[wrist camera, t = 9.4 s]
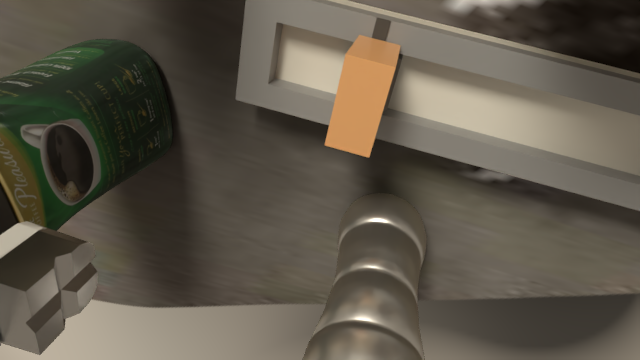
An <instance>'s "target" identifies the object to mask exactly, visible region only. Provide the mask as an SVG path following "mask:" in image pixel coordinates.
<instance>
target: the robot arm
mask: <svg viewBox="0 0 640 360" xmlns="http://www.w3.org/2000/svg"><path fill="white" fill-rule="evenodd" d="M95 257H96V254H95V248H94V245H93V244H91V243H89V242H86V241H84V240H81V239H78V238H75V237H72V236H69V235H66V234H64V233H61V232H58V231H55V230H52V229H49V228H46V227H43V226H40V225H37V224H34V223H31V222H28V221H26V222H21V223H17V224H16V225H14V226H13V227H11V228H10V229H8V230H7V231H5V232H4V233H2V234H1V235H0V346H1V343H3V344H6V345H10V346H13V347H16V348H19V349H23V350H26V351H29V352H32V353H35V354H39V355H40V354H42V352H43V351H44V350H45V349H46V348H47V347H48V346H49V345H50V344H51V343H52V342H53V341H54V340H55V339H56V338H57V336H59V334H60V333H61V332H62V331H63V330H64V328H65V319H66V318H69V317H71V316H74V315H76V314H79V313H80V312H81V311H82V310H83V309H84V308H85V307H86V306H87V304H88V303H89V302H90V300H91V298H92V296H93V295H94V293H95V291H96V287H97V282H98V274H97V271H96V269H95V268H94V266H93V265H92V264H91V261H92V260H93V259H94V258H95Z"/></svg>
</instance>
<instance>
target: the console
mask: <svg viewBox="0 0 640 360" xmlns="http://www.w3.org/2000/svg"><path fill="white" fill-rule="evenodd" d="M359 35H362V36H366V37H370V38H374V39H378V40H382V41H386V42H390V43H394V44H397V45H401V47H400V51H399V54H403V57H402V62H401V65H400V68H399V72H398V75H397V78H396V82H395V85H394V88H393V92H392V95H391V98H390V102H389V105H388V108H387V111H383V113H382V116H381V119H380V123H379V126H378V130H377V133H376V136H375V138H376V139H380V140H384V141H387V142H391V143H394V144H398V145H402V146H405V147H409V148H413V149H416V150H420V151H424V152H427V153H431V154H434V155H438V156H442V157H445V158H449V159H453V160H456V161H460V162H463V163H467V164H471V165H474V166H478V167H482V168H485V169H489V170H493V171H496V172H500V173H503V174H507V175H511V176H514V177H518V178H522V179H525V180H529V181H532V182H536V183H540V184H543V185H547V186H551V187H554V188H558V189H562V190H565V191H569V192H572V193H576V194H580V195H583V196H587V197H591V198H594V199H598V200H601V201H605V202H609V203H612V204H616V205H620V206H623V207H627V208H631V209H634V210H638V211H640V73H636V72H632V71H628V70H624V69H620V68H616V67H612V66H608V65H604V64H600V63H596V62H592V61H588V60H584V59H580V58H576V57H572V56H568V55H564V54H560V53H556V52H552V51H548V50H544V49H540V48H536V47H532V46H528V45H524V44H520V43H516V42H512V41H508V40H504V39H500V38H496V37H492V36H488V35H484V34H480V33H476V32H472V31H468V30H464V29H460V28H456V27H452V26H448V25H444V24H440V23H436V22H432V21H428V20H424V19H420V18H416V17H412V16H408V15H404V14H400V13H396V12H392V11H388V10H384V9H380V8H376V7H372V6H368V5H364V4H360V3H356V2H352V1H348V0H246V2H245V12H244V21H243V31H242V41H241V51H240V60H239V70H238V80H237V89H236V99H235V100H238V101H242V102H246V103H249V104H253V105H256V106H260V107H264V108H267V109H271V110H275V111H278V112H282V113H286V114H289V115H293V116H296V117H300V118H304V119H307V120H311V121H315V122H318V123H322V124H325V125H329V124H330V119H331V115H332V111H333V106H334V102H335V98H336V93H337V89H338V85H339V80H340V76H341V72H342V67H343V63H344V59H345V54H346V53H347V51H348V50H349V49H350V47H351V46H352V44H353V43H354V42H355V40H356V39H357V37H358V36H359Z"/></svg>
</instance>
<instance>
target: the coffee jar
mask: <svg viewBox="0 0 640 360" xmlns="http://www.w3.org/2000/svg"><path fill="white" fill-rule="evenodd" d="M172 138H173V131H172V122H171V114H170V109H169V105H168V101H167V97H166V93H165V89H164V86H163V83H162V80H161V77H160V74H159V72H158V69H157V67H156V65H155V63H154V61H153V60H152V58H151V57H150V56H149V55H148V54H147V53H146V52H145V51H143V50H142V49H141V48H140V47H138V46H137V45H135V44H132V43H130V42H127V41H122V40H113V39H96V40H89V41H85V42H81V43H78V44H75V45H72V46H70V47H67V48H65V49H63V50H60V51H58V52H56V53H54V54H52V55H49V56H47V57H45V58H43V59H41V60H39V61H37V62H35V63H33V64H31V65H29V66H27V67H25V68H23V69H20V70H18V71H16V72H14V73H12V74H10V75H8V76H5V77H3V78H1V79H0V235H1V234H2V233H4V232H5V231H7V230H8V229H10V228H11V227H13V226H14V225H16V224H17V223H21V222H26V221H28V222H31V223H34V224H37V225H40V226H43V227H46V228H49V229H52V230H55V231H57V230H58V229H59V228H60V227H61V226H62V225H63V224H64V223H65V222H67V221H68V220H69V219H70V218H71V217H72V216H74V215H75V214H76V213H77V212H79V211H80V210H81V209H83V208H84V207H85V206H87V205H88V204H90V203H91V202H93V201H94V200H96V199H97V198H99V197H100V196H101V195H103V194H104V193H106V192H107V191H109V190H110V189H112V188H114V187H115V186H117V185H118V184H120V183H121V182H123V181H125V180H126V179H128V178H129V177H131V176H133V175H134V174H136V173H138V172H139V171H141V170H142V169H144V168H146V167H147V166H149V165H150V164H152V163H153V162H155V161H156V160H157V159H159V158H160V157H161V156H163V155H164V154H165V153H166V152H167V151H168V150H169V148H170V146H171V144H172Z"/></svg>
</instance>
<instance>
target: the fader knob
mask: <svg viewBox="0 0 640 360" xmlns="http://www.w3.org/2000/svg"><path fill="white" fill-rule="evenodd" d="M400 47H401V45H397V44H394V43H390V42H386V41H382V40H378V39H374V38H370V37H366V36H362V35H359V36H358V37H357V39H356V40H355V42H354V43H353V44H352V46H351V47H350V49H349V50H348V51H347V53H346V54H345V59H344V63H343V67H342V72H341V76H340V80H339V85H338V89H337V93H336V98H335V102H334V106H333V111H332V115H331V119H330V124H329V128H328V132H327V137H326V141H325V146H329V147H332V148H336V149H340V150H343V151H347V152H350V153H354V154H358V155H361V156H365V157H368V158H369V157H370V153H371V150H372V146H373V143H374V140H375V136H376V133H377V130H378V126H379V123H380V119H381V116H382V113H383V111H387V108H388V105H389V102H390V98H391V95H392V92H393V88H394V85H395V82H396V78H397V75H398V72H399V68H400V65H401V62H402V57H403V54H399V51H400Z"/></svg>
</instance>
